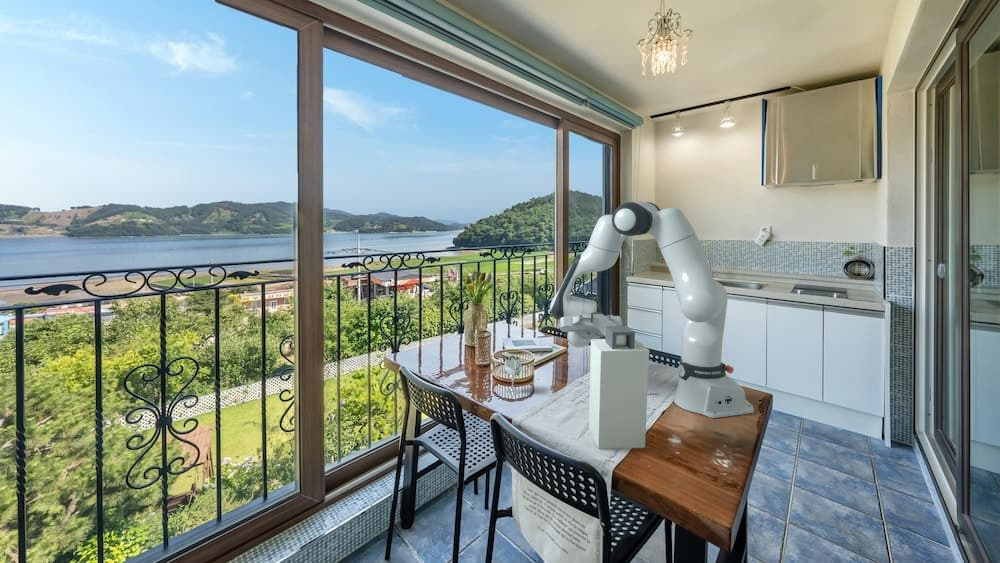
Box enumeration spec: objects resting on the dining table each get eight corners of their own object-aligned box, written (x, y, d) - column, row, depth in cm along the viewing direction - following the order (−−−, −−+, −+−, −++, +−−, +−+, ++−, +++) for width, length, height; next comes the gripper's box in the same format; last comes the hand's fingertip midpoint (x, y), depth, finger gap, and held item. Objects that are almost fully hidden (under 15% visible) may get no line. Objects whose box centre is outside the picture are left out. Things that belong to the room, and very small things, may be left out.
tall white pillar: (631, 427, 111) (635, 323, 107) (644, 447, 102) (650, 333, 97) (588, 428, 111) (591, 323, 107) (598, 448, 101) (601, 334, 97)
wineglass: (519, 395, 133) (519, 361, 131) (503, 394, 134) (502, 360, 132) (522, 388, 138) (522, 355, 136) (506, 387, 139) (505, 355, 138)
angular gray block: (601, 322, 125) (601, 312, 124) (626, 345, 101) (627, 333, 101) (590, 322, 125) (591, 312, 124) (614, 346, 101) (614, 334, 100)
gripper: (555, 319, 138) (562, 308, 126) (613, 319, 139) (625, 307, 126) (556, 337, 136) (563, 327, 123) (615, 336, 137) (628, 326, 124)
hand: (595, 317), depth 125 cm, fingers open, 8 cm apart
